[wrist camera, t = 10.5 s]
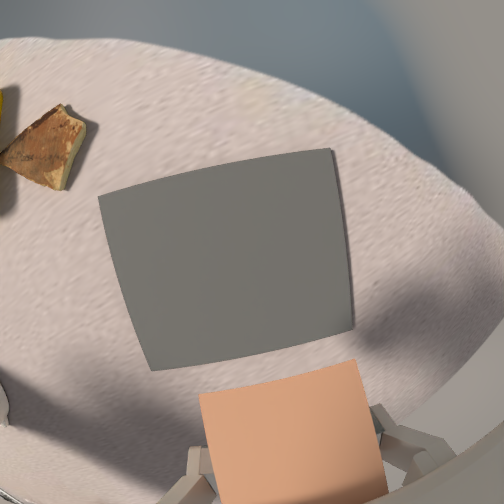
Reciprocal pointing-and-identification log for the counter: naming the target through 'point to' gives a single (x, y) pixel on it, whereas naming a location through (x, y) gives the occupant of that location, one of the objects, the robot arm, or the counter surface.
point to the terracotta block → (295, 440)
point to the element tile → (0, 101)
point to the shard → (46, 148)
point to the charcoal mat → (231, 258)
